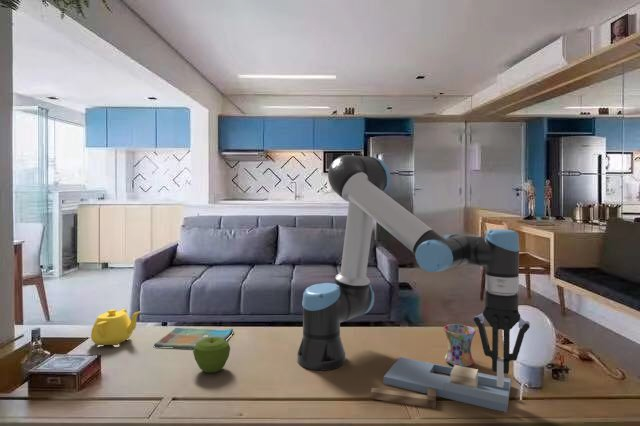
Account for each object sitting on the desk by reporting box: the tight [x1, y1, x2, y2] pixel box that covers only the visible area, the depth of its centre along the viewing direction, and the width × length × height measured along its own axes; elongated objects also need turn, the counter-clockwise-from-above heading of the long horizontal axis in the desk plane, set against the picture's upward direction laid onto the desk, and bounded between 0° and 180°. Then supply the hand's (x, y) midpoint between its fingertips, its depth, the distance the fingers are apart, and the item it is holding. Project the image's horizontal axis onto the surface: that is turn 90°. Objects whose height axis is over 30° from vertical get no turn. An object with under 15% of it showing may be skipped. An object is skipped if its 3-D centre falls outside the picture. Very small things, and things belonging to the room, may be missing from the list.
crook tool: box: [370, 387, 437, 408], centre depth 104 cm, size 16×6×2 cm, turn 74°
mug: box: [443, 323, 477, 367], centre depth 126 cm, size 12×9×11 cm
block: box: [449, 365, 479, 388], centre depth 106 cm, size 6×6×4 cm
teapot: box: [90, 308, 142, 346], centre depth 142 cm, size 14×14×12 cm
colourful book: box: [153, 327, 234, 350], centre depth 145 cm, size 17×23×2 cm
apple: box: [192, 337, 231, 374], centre depth 120 cm, size 11×10×10 cm
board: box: [383, 356, 512, 413], centre depth 111 cm, size 31×15×4 cm, turn 61°
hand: (500, 384), depth 101 cm, fingers closed
